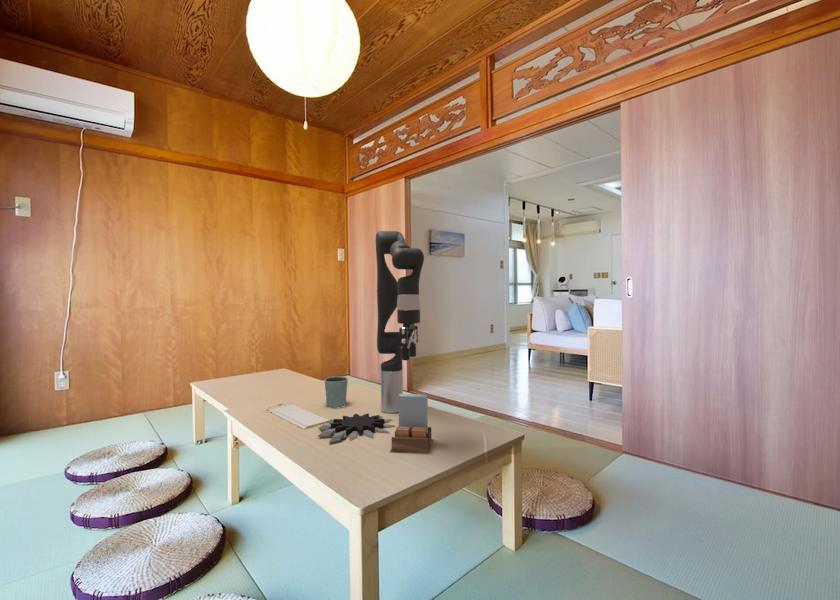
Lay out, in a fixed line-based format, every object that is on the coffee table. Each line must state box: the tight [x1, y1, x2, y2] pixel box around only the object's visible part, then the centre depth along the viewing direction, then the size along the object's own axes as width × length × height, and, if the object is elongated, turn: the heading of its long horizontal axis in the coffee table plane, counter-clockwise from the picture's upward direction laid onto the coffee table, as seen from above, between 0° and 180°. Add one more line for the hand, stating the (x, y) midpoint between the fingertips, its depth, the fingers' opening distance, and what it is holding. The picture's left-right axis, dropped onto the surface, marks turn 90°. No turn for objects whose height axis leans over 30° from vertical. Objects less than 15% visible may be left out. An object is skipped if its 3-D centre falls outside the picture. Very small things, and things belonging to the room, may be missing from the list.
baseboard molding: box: [266, 403, 330, 430], centre depth 155 cm, size 31×3×12 cm
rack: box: [389, 425, 434, 455], centre depth 121 cm, size 12×12×6 cm
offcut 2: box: [412, 427, 426, 438], centre depth 118 cm, size 3×4×6 cm
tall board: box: [398, 393, 429, 432], centre depth 123 cm, size 3×9×15 cm, turn 82°
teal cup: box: [324, 376, 349, 409], centre depth 171 cm, size 10×10×12 cm
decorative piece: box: [317, 412, 397, 444], centre depth 138 cm, size 30×4×30 cm
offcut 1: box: [395, 426, 410, 437], centre depth 119 cm, size 3×4×6 cm
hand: (409, 358), depth 126 cm, fingers open, 8 cm apart
